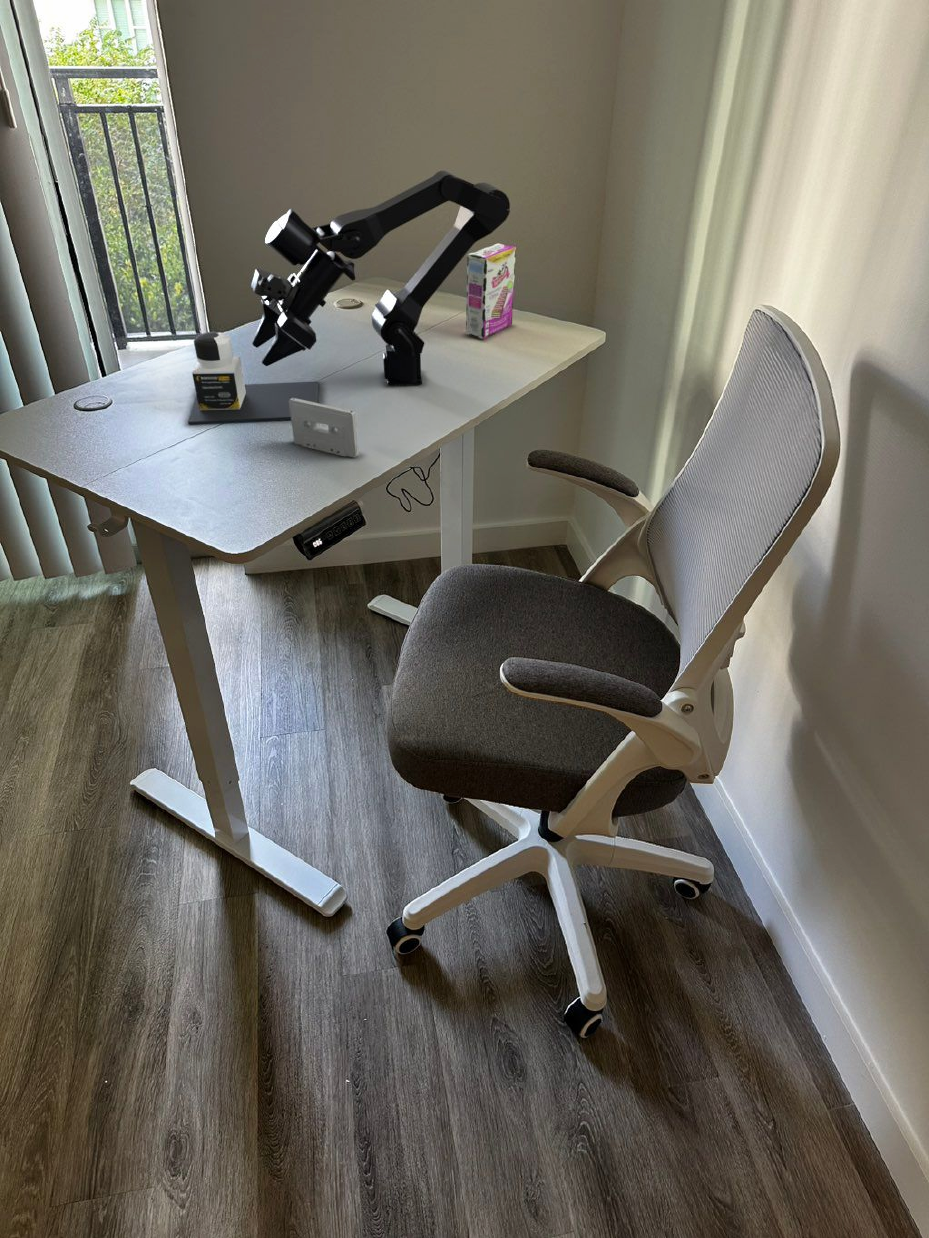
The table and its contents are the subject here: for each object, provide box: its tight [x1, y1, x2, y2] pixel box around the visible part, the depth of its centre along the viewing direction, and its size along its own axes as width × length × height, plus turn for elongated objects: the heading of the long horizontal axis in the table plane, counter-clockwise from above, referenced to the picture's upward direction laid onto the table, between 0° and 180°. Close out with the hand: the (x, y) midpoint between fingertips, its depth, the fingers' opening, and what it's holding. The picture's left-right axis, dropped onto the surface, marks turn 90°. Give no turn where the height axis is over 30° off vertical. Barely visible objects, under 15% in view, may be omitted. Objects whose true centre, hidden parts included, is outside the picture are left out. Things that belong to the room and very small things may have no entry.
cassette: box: [289, 398, 359, 459], centre depth 137 cm, size 12×2×8 cm, turn 64°
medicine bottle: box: [191, 331, 246, 410], centre depth 149 cm, size 7×7×12 cm
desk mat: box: [187, 380, 320, 426], centre depth 153 cm, size 22×15×1 cm
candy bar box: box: [465, 243, 517, 340], centre depth 178 cm, size 11×5×16 cm, turn 144°
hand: (259, 355), depth 150 cm, fingers open, 9 cm apart
